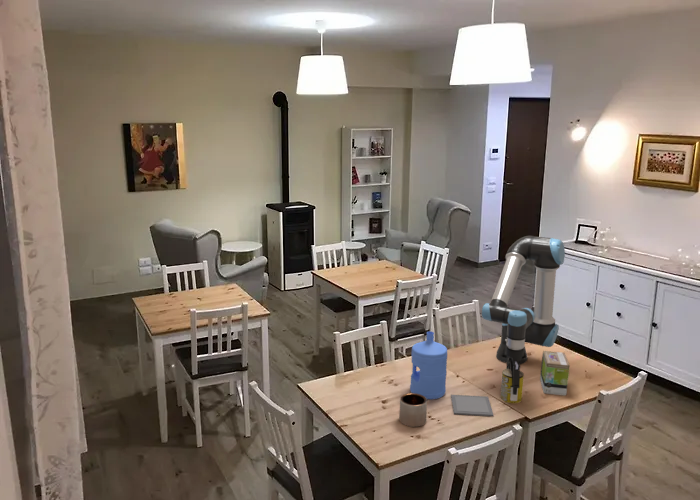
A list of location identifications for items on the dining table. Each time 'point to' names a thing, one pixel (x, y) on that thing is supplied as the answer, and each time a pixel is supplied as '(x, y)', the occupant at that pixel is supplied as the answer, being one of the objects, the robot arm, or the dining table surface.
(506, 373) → the beverage can
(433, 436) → the dining table surface
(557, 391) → the tea box
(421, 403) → the planter
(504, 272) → the robot arm
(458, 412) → the plate
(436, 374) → the water jug
